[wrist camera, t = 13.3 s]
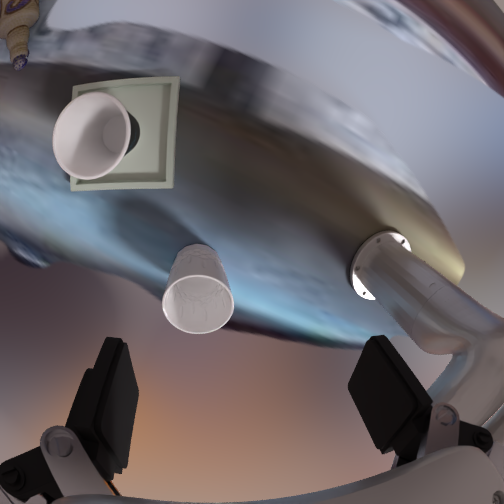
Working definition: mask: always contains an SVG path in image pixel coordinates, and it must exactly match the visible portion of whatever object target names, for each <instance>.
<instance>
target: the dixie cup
mask: <svg viewBox="0 0 504 504" xmlns="http://www.w3.org/2000/svg"><path fill="white" fill-rule="evenodd" d="M139 137H140V126H139V123H138V121H137V120H136V118H135V117H134V116H132V115H131V114H130V113H129V112H128V111H126V109H125V107H124V106H123V105H122V103H121V102H120V101H119V100H118V99H116V98H115V97H113V96H112V95H110V94H107V93H103V92H90V93H86V94H83V95H81V96H79V97H77V98H75V99H74V100H72V101H71V102H70V103H69V104H68V105H67V106H66V107H65V108H64V109H63V111H62V112H61V114H60V115H59V117H58V119H57V121H56V124H55V127H54V131H53V139H52V143H53V151H54V154H55V157H56V160H57V162H58V163H59V165H60V166H61V167H62V169H63V170H64V171H65V172H67V173H68V174H69V175H71V176H73V177H76V178H79V179H84V180H89V179H96V178H99V177H102V176H104V175H106V174H107V173H109V172H110V171H112V170H113V169H114V168H115V167H116V166H117V165H118V164H119V162H120V161H121V160H122V158H123V157H124V156H125V155H127V154H128V153H129V152H130V151H131V150H133V148H134V147H135V146H136V145H137V143H138V140H139Z"/></svg>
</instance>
